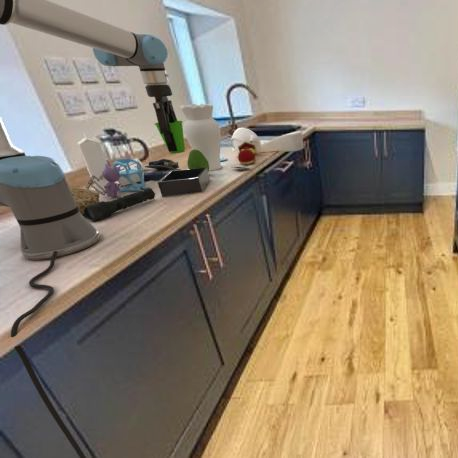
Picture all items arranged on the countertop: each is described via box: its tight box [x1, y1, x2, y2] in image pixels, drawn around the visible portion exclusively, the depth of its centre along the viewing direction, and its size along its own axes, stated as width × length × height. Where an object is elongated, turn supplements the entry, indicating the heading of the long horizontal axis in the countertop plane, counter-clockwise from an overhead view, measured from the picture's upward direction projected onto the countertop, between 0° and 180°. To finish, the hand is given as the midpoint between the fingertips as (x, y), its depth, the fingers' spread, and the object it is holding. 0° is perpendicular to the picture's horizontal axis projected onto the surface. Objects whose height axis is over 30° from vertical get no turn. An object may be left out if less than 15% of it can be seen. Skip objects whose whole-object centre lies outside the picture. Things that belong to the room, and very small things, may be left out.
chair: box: [112, 158, 147, 192], centre depth 138 cm, size 8×8×12 cm
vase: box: [178, 102, 222, 172], centre depth 162 cm, size 15×15×29 cm
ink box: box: [117, 157, 145, 187], centre depth 148 cm, size 8×5×12 cm
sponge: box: [70, 187, 101, 215], centre depth 117 cm, size 13×8×20 cm
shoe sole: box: [257, 130, 305, 154], centre depth 202 cm, size 36×13×10 cm, turn 87°
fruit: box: [187, 149, 209, 172], centre depth 153 cm, size 8×8×12 cm
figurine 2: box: [237, 141, 258, 166], centre depth 176 cm, size 9×10×15 cm
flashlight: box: [83, 187, 156, 222], centre depth 117 cm, size 5×21×5 cm, turn 162°
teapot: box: [230, 127, 261, 154], centre depth 188 cm, size 25×16×12 cm
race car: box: [144, 158, 180, 169], centre depth 159 cm, size 15×7×4 cm, turn 173°
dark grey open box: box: [157, 167, 211, 198], centre depth 139 cm, size 18×14×6 cm
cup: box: [154, 120, 186, 155], centre depth 132 cm, size 9×9×11 cm
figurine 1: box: [102, 163, 121, 198], centre depth 131 cm, size 5×7×12 cm
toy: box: [220, 157, 228, 162], centre depth 184 cm, size 14×1×10 cm
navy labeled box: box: [144, 168, 182, 181], centre depth 156 cm, size 18×3×10 cm
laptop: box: [230, 165, 251, 170], centre depth 163 cm, size 7×6×2 cm
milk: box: [76, 133, 116, 193], centre depth 137 cm, size 6×6×22 cm
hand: (176, 148), depth 133 cm, fingers closed on cup, 8 cm apart
